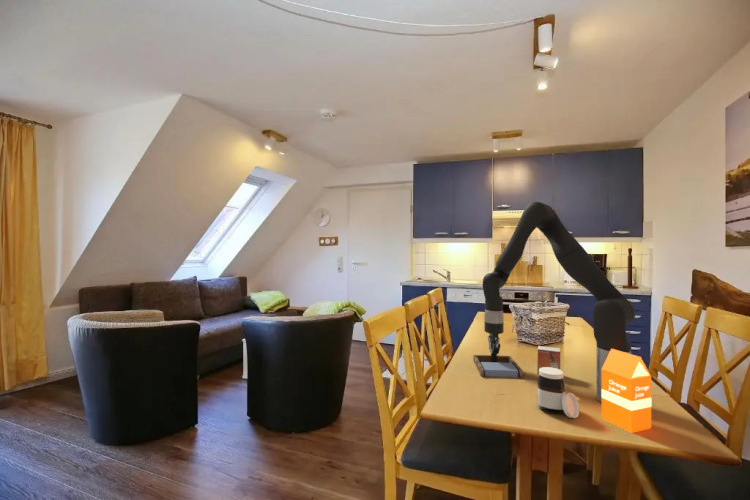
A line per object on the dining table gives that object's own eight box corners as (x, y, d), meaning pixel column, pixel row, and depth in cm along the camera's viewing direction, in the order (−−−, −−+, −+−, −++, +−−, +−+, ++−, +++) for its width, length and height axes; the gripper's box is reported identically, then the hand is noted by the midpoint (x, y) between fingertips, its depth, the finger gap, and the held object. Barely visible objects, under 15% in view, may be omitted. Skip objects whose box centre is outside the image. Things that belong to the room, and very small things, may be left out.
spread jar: (538, 399, 116) (538, 364, 116) (578, 406, 110) (578, 369, 110) (536, 415, 105) (536, 376, 105) (580, 423, 100) (580, 382, 100)
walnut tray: (522, 380, 132) (522, 370, 132) (481, 378, 134) (481, 369, 134) (510, 364, 150) (510, 355, 150) (473, 362, 152) (473, 354, 152)
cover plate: (517, 377, 133) (517, 370, 133) (485, 376, 134) (485, 369, 134) (511, 369, 142) (511, 362, 142) (480, 368, 143) (480, 361, 143)
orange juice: (620, 413, 105) (620, 347, 105) (651, 428, 97) (652, 355, 97) (601, 418, 103) (600, 349, 103) (631, 433, 95) (631, 358, 94)
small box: (537, 376, 136) (536, 349, 136) (537, 371, 141) (537, 345, 141) (560, 379, 132) (560, 351, 132) (560, 374, 137) (560, 347, 137)
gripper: (507, 324, 139) (507, 368, 139) (499, 317, 152) (499, 357, 152) (487, 324, 140) (487, 367, 140) (481, 317, 153) (481, 356, 153)
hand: (493, 362), depth 146 cm, fingers closed
